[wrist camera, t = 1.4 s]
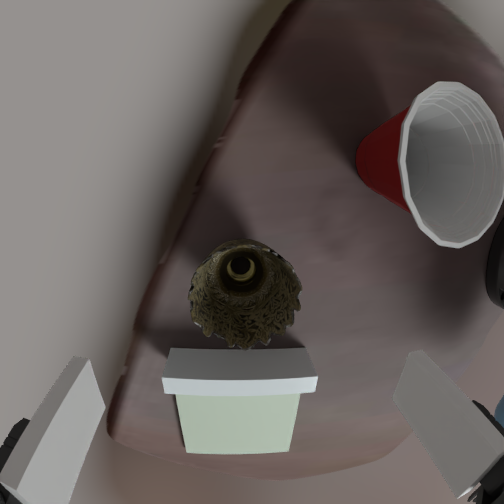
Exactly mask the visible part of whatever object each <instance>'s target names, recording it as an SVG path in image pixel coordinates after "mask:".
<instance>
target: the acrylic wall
mask: <svg viewBox="0 0 504 504" xmlns="http://www.w3.org/2000/svg"><path fill="white" fill-rule="evenodd" d="M317 380H318V375H317V372H316V370H315V368H314V365H313V363H312V361H311V359H310V356H309V354H308V352H307V349H306V348H285V349H250V350H247V351H244V350H242V349H189V348H170V352H169V355H168V358H167V362H166V365H165V368H164V372H163V375H162V381H163V386H164V392H165V393H166V394H180V395H199V396H264V395H284V394H297V393H309V392H315V389H316V384H317Z"/></svg>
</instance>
